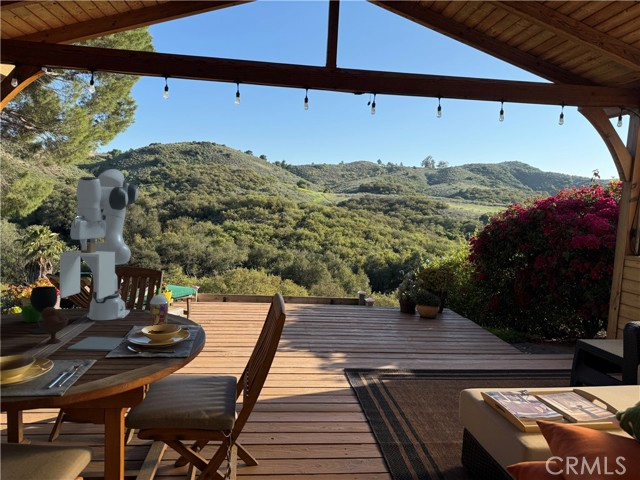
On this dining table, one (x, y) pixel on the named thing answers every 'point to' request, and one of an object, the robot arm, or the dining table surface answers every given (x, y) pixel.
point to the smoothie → (159, 309)
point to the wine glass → (42, 301)
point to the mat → (97, 344)
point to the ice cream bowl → (52, 323)
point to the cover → (72, 270)
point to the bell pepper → (30, 313)
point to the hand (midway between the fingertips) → (88, 249)
